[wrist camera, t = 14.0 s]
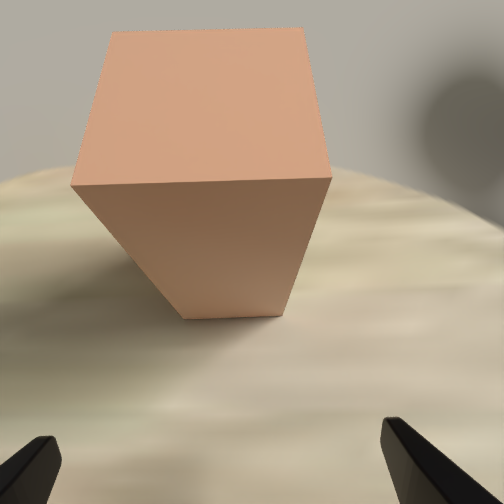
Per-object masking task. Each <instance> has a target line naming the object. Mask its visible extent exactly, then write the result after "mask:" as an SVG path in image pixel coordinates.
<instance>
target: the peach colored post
mask: <svg viewBox="0 0 504 504" xmlns="http://www.w3.org/2000/svg"><path fill="white" fill-rule="evenodd" d="M331 179H332V174H331V168H330V163H329V158H328V154H327V148H326V143H325V138H324V133H323V128H322V122H321V117H320V112H319V107H318V101H317V97H316V91H315V87H314V81H313V76H312V71H311V65H310V60H309V55H308V50H307V45H306V40H305V35H304V29H303V27H301V28H300V27H299V28H256V29H255V28H254V29H210V30H169V31H168V30H166V31H123V32H112V36H111V39H110V43H109V46H108V50H107V54H106V57H105V61H104V64H103V69H102V72H101V75H100V79H99V83H98V86H97V90H96V94H95V97H94V101H93V105H92V108H91V112H90V116H89V119H88V123H87V126H86V130H85V134H84V138H83V141H82V145H81V148H80V152H79V156H78V159H77V163H76V166H75V170H74V174H73V177H72V181H71V185H70V186H71V187H72V188H73V189H74V191H75V192H76V193H77V194H78V195H79V196H80V198H81V199H82V200H83V201H84V202H85V204H86V205H87V206H88V207H89V208H90V209H91V211H92V212H93V213H94V214H95V215H96V216H97V218H98V219H99V220H100V221H101V222H102V224H103V225H104V226H105V227H106V228H107V229H108V231H109V232H110V233H111V234H112V235H113V237H114V238H115V239H116V240H117V241H118V242H119V244H120V245H121V246H122V247H123V248H124V249H125V251H126V252H127V253H128V254H129V255H130V257H131V258H132V259H133V260H134V261H135V262H136V264H137V265H138V266H139V267H140V268H141V270H142V271H143V272H144V273H145V274H146V275H147V277H148V278H149V279H150V280H151V281H152V282H153V284H154V285H155V286H156V287H157V288H158V290H159V291H160V292H161V293H162V294H163V295H164V297H165V298H166V299H167V300H168V301H169V303H170V304H171V305H172V306H173V307H174V308H175V310H176V311H177V312H178V313H179V314H180V315H181V317H182V318H183V319H208V318H233V317H259V316H282V315H283V312H284V310H285V307H286V304H287V301H288V299H289V296H290V293H291V290H292V288H293V285H294V282H295V279H296V276H297V274H298V271H299V268H300V265H301V263H302V260H303V257H304V254H305V252H306V249H307V246H308V243H309V240H310V238H311V235H312V232H313V229H314V227H315V224H316V221H317V218H318V215H319V213H320V210H321V207H322V204H323V202H324V199H325V196H326V193H327V191H328V188H329V185H330V182H331Z"/></svg>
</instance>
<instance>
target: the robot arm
mask: <svg viewBox="0 0 504 504" xmlns="http://www.w3.org/2000/svg"><path fill="white" fill-rule="evenodd" d="M380 443H381V448H382V451H383V454H384V457H385V460H386V463H387V466H388V469H389V472H390V475H391V478H392V481H393V484H394V487H395V490H396V493H397V496H398V499H399V502H400V504H503V503H502V502H500V501H499V500H498V499H497V498H496V497H494V496H493V495H492V494H491V493H490V492H488V491H487V490H486V489H485V488H484V487H482V486H481V485H480V484H479V483H478V482H476V481H475V480H474V479H473V478H472V477H471V476H469V475H468V474H467V473H466V472H465V471H463V470H462V469H461V468H460V467H459V466H457V465H456V464H455V463H454V462H453V461H451V460H450V459H449V458H448V457H447V456H445V455H444V454H443V453H442V452H441V451H439V450H438V449H437V448H436V447H435V446H434V445H432V444H431V443H430V442H429V441H428V440H426V439H425V438H424V437H423V436H422V435H420V434H419V433H418V432H417V431H416V430H414V429H413V428H412V427H411V426H410V425H408V424H407V423H406V422H405V421H404V420H402V419H401V418H399V417H386V418H384V419H383V423H382V430H381V437H380ZM61 462H62V457H61V453H60V450H59V447H58V444H57V441H56V438H55V437H54V436H39V437H36V438H35V439H33V440H32V441H31V442H29V443H28V444H27V445H26V446H24V447H23V448H22V449H20V450H19V451H18V452H17V453H15V454H14V455H13V456H12V457H10V458H9V459H8V460H6V461H5V462H4V463H3V464H1V465H0V504H47V501H48V498H49V496H50V493H51V491H52V488H53V485H54V483H55V480H56V477H57V475H58V472H59V470H60V467H61Z"/></svg>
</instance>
